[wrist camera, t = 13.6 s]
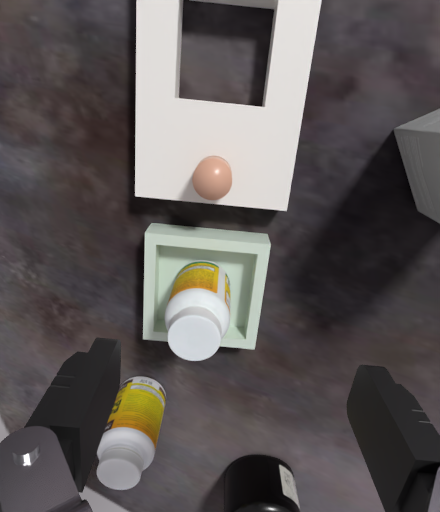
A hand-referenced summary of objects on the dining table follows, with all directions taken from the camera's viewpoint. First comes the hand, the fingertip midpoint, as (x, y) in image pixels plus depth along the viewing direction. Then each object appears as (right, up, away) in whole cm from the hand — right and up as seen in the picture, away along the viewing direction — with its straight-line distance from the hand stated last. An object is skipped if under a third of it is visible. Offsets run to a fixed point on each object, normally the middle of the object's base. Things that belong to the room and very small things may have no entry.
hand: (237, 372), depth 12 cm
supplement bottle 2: (-2, +1, +24) cm, 24 cm away
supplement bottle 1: (-9, -12, +30) cm, 34 cm away
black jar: (+4, -24, +35) cm, 43 cm away
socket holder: (0, +20, +17) cm, 26 cm away
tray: (-2, +1, +24) cm, 25 cm away
